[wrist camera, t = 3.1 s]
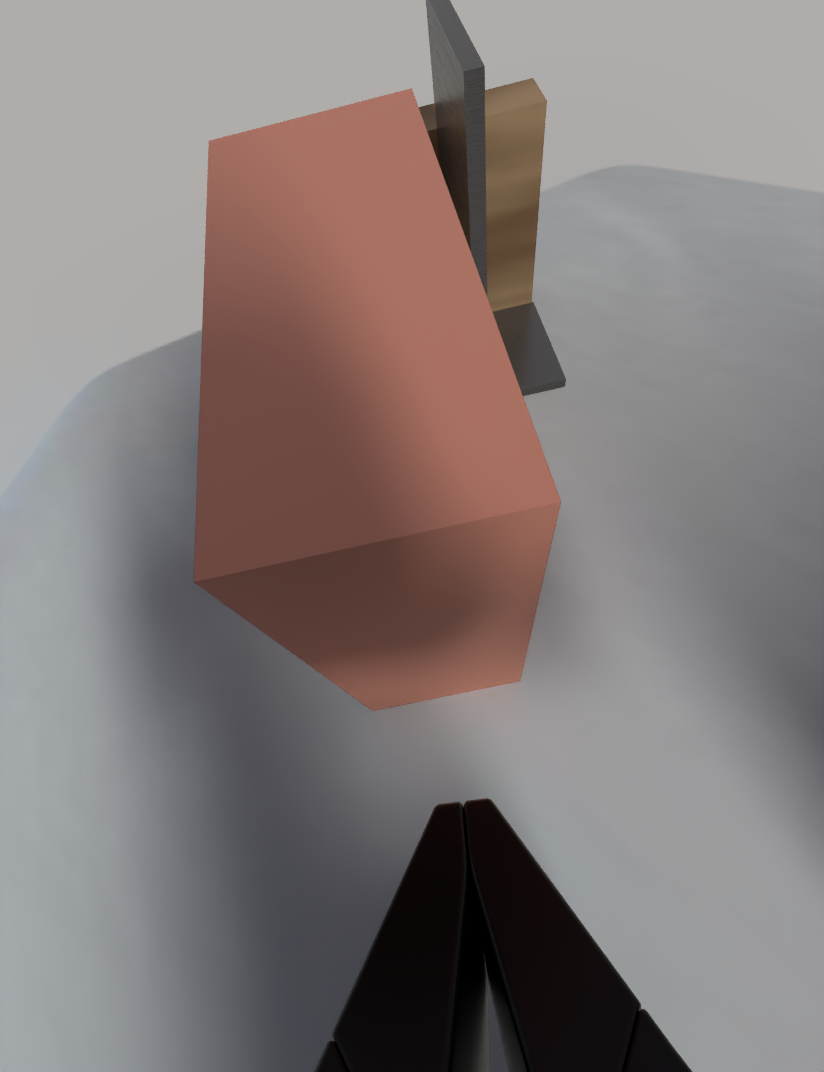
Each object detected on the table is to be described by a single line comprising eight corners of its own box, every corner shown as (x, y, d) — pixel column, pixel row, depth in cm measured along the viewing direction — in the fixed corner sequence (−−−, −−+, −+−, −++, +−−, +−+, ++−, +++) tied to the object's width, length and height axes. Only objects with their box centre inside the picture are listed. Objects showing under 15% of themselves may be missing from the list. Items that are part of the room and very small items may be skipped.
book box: (520, 681, 20) (561, 501, 8) (372, 711, 21) (193, 581, 8) (449, 413, 27) (411, 88, 15) (338, 438, 27) (208, 140, 15)
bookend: (564, 386, 27) (626, 29, 14) (477, 406, 27) (463, 71, 14) (532, 309, 29) (561, -45, 17) (453, 328, 30) (425, -9, 17)
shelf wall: (530, 309, 29) (546, 100, 21) (310, 361, 30) (234, 180, 21) (521, 287, 30) (533, 78, 22) (308, 338, 31) (234, 154, 22)
